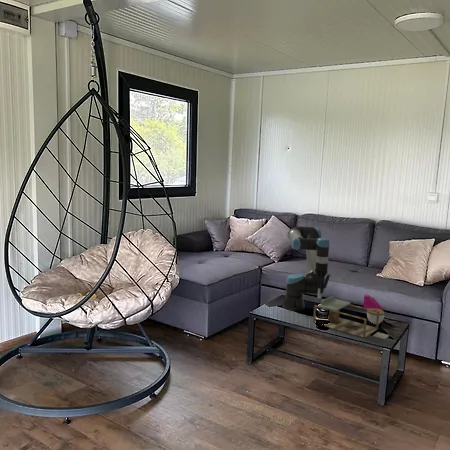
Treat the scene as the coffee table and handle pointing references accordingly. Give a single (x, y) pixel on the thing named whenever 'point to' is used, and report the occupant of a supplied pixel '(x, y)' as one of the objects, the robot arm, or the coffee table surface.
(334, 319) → the block
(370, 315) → the lidded jar
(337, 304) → the cover
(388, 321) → the coffee table surface
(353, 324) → the open box frame
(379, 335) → the tile
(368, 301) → the bracket
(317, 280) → the robot arm
